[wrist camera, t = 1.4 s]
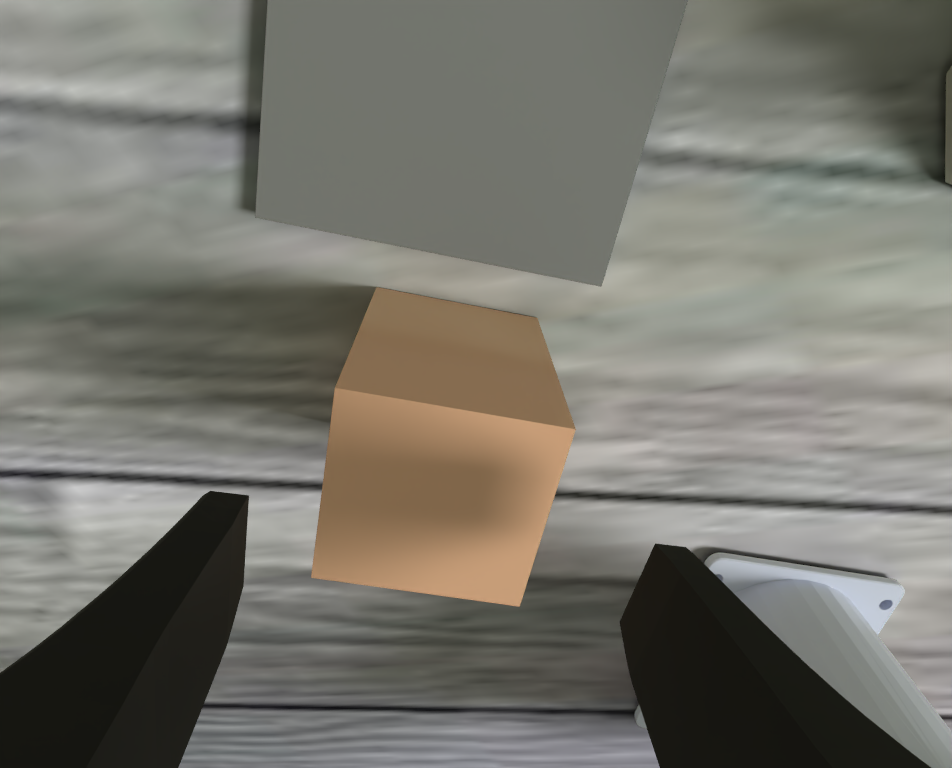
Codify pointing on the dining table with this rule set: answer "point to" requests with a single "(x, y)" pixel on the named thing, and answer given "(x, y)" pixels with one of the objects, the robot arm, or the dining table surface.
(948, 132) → the flask
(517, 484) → the light orange block
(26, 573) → the dining table surface
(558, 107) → the mat
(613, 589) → the dining table surface
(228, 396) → the dining table surface
